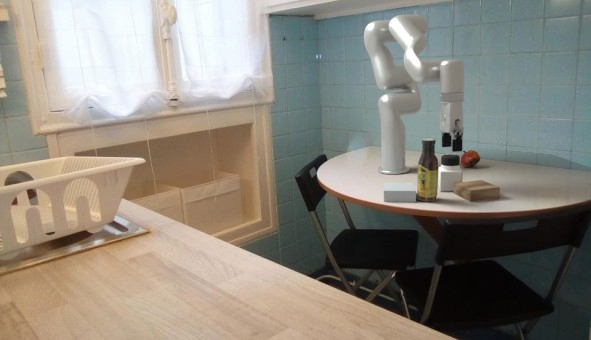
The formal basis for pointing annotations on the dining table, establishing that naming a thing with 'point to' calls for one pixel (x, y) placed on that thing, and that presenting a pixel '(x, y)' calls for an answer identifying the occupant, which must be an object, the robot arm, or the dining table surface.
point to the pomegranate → (470, 158)
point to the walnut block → (477, 190)
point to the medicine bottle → (449, 172)
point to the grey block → (399, 192)
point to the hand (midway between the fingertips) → (451, 149)
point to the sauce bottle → (427, 172)
